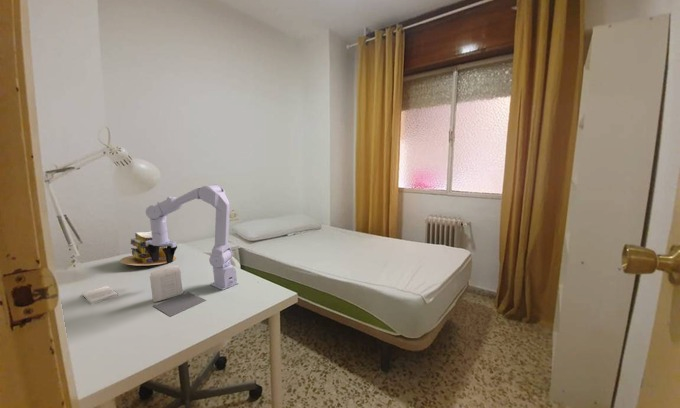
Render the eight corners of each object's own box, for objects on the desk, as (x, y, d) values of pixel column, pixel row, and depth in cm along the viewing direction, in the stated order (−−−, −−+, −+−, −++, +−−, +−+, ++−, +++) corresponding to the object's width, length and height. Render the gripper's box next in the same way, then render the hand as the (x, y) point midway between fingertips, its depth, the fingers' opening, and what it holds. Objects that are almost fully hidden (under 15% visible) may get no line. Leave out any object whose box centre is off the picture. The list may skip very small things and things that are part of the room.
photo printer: (181, 291, 110) (178, 262, 109) (184, 294, 107) (180, 265, 105) (152, 300, 103) (147, 269, 102) (154, 303, 100) (149, 272, 98)
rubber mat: (206, 300, 102) (206, 299, 102) (170, 316, 91) (170, 316, 91) (188, 292, 109) (188, 291, 109) (153, 306, 98) (153, 305, 98)
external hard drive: (108, 289, 114) (118, 296, 107) (82, 296, 107) (91, 305, 100) (107, 285, 114) (117, 292, 107) (81, 293, 107) (90, 301, 100)
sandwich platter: (172, 251, 162) (169, 225, 159) (179, 262, 143) (176, 233, 141) (120, 261, 146) (116, 232, 144) (121, 275, 127) (116, 242, 125)
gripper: (181, 230, 116) (183, 260, 118) (154, 229, 119) (157, 257, 121) (167, 234, 109) (170, 265, 111) (139, 232, 112) (143, 263, 114)
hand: (162, 261), depth 116 cm, fingers open, 7 cm apart
